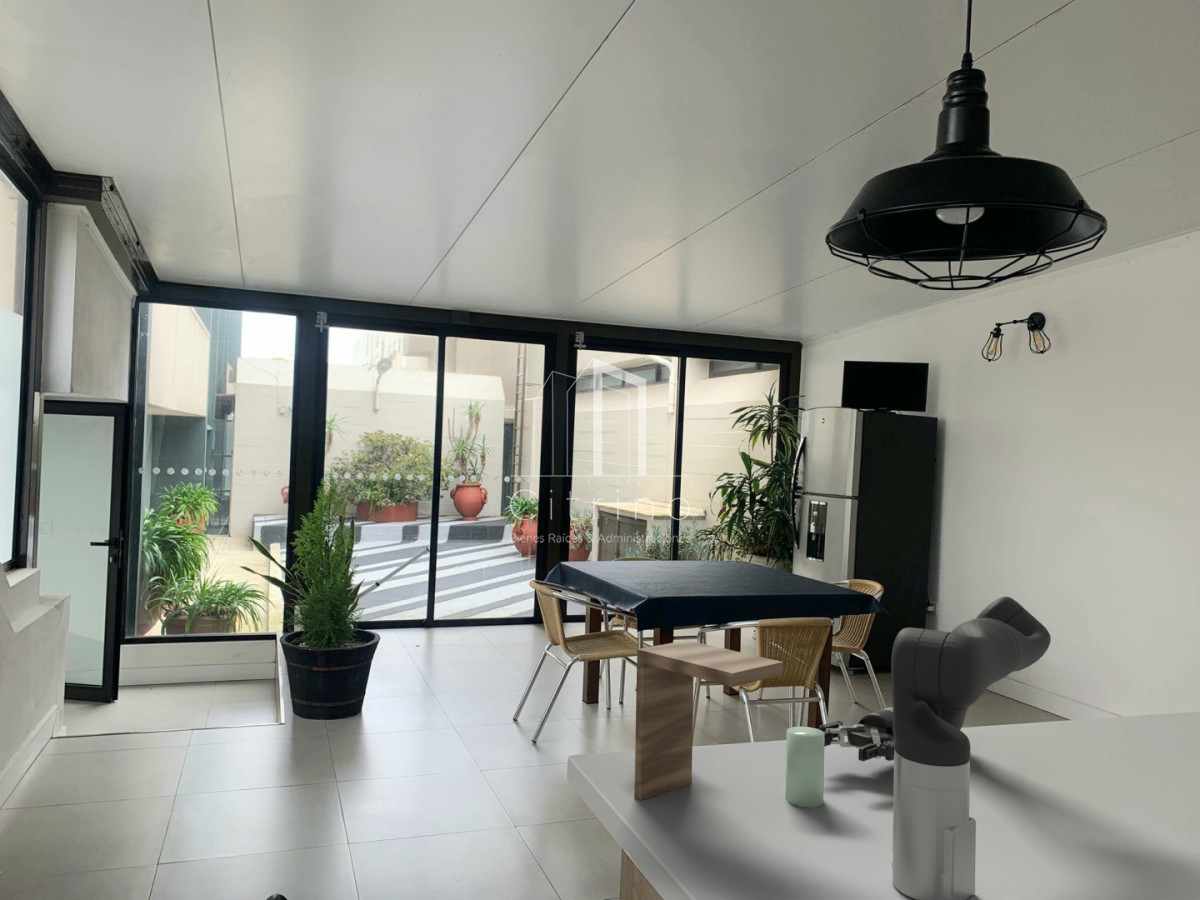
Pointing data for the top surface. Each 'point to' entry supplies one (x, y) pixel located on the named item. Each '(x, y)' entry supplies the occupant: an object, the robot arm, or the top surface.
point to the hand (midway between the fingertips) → (838, 748)
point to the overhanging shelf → (680, 706)
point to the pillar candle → (805, 766)
